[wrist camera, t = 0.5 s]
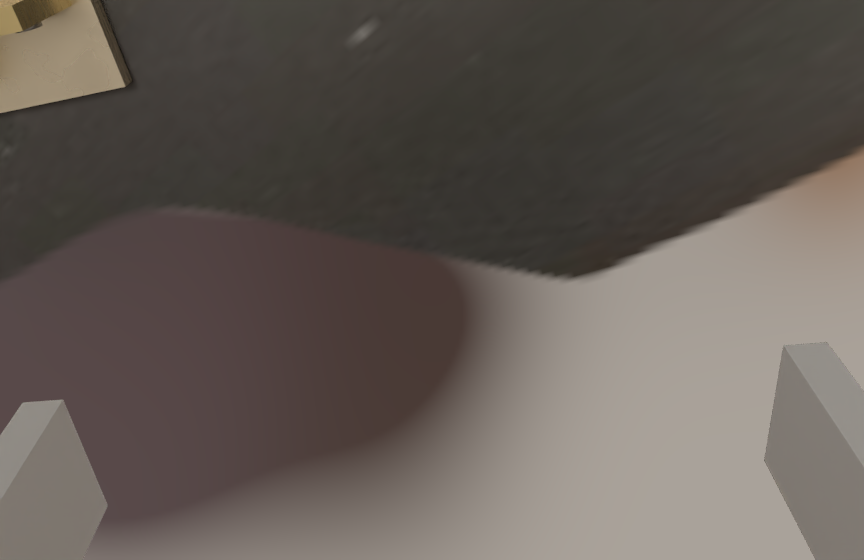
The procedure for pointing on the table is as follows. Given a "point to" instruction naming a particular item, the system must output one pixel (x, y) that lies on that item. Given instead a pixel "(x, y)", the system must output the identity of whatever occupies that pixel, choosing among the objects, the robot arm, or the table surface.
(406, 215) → the table surface
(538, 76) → the table surface
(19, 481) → the robot arm
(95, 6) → the open box on plate
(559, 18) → the table surface
